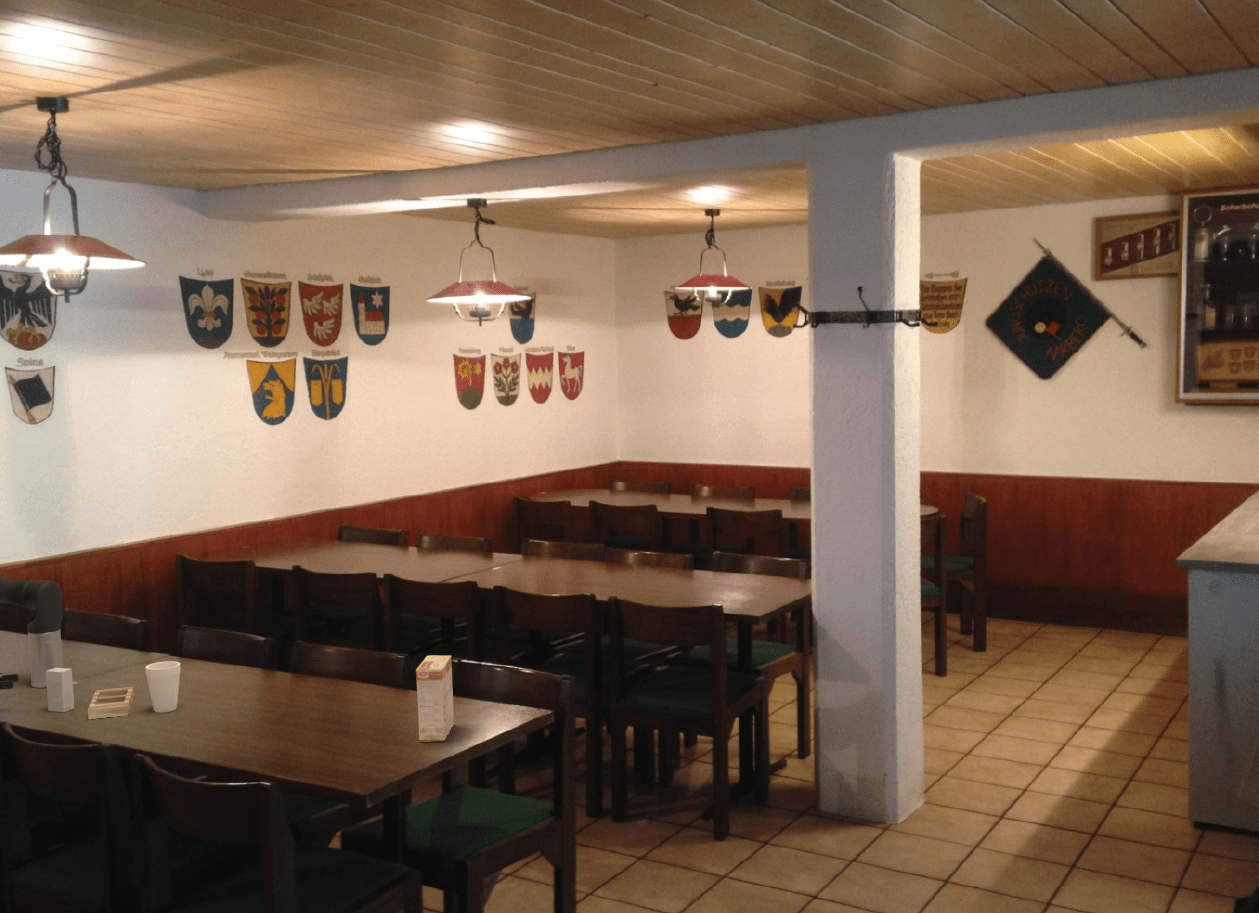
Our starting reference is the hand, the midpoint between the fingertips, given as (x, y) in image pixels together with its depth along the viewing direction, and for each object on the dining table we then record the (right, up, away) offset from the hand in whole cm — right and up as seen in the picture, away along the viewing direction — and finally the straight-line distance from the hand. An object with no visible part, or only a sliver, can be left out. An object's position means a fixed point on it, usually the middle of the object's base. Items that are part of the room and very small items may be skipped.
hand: (15, 681), depth 347 cm
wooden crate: (+25, -9, +5) cm, 27 cm away
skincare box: (+11, -9, +5) cm, 15 cm away
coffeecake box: (+126, -9, -28) cm, 129 cm away
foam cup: (+42, -9, +2) cm, 43 cm away
